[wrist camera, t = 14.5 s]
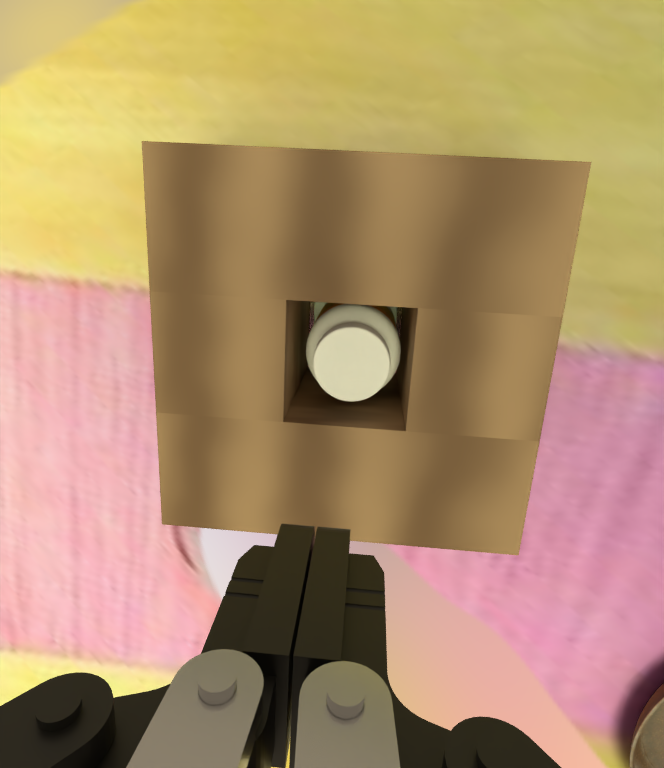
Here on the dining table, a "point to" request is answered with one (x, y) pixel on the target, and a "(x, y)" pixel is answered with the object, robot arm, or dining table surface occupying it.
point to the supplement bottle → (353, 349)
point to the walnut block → (365, 287)
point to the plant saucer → (649, 734)
